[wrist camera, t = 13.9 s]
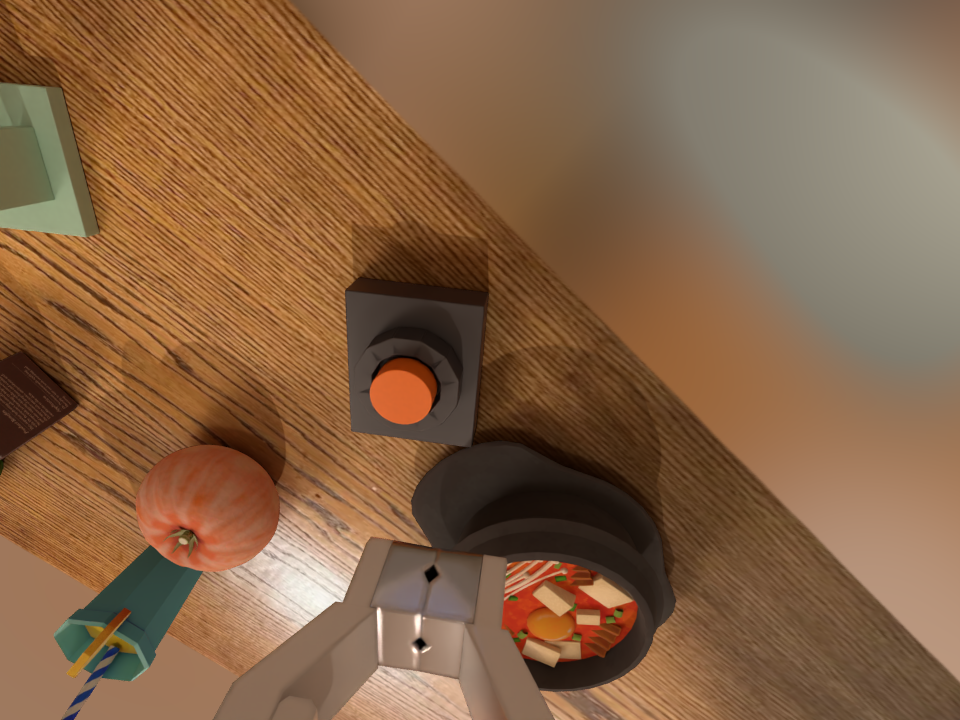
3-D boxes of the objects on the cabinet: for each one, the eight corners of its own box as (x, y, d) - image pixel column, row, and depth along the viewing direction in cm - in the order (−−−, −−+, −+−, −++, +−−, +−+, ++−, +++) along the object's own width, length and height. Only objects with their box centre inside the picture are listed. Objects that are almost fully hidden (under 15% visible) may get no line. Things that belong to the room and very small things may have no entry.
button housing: (358, 277, 35) (334, 299, 31) (489, 292, 34) (481, 317, 30) (362, 411, 40) (342, 446, 36) (476, 427, 39) (468, 463, 35)
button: (377, 353, 33) (368, 366, 31) (438, 361, 32) (433, 374, 31) (377, 406, 34) (369, 420, 33) (436, 413, 34) (430, 428, 33)
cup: (212, 608, 53) (102, 776, 40) (141, 583, 53) (5, 744, 40) (232, 520, 47) (108, 685, 34) (150, 490, 47) (-8, 645, 33)
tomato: (177, 408, 42) (101, 470, 35) (303, 447, 42) (254, 516, 35) (176, 502, 47) (111, 573, 40) (290, 536, 47) (244, 612, 40)
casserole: (369, 498, 44) (332, 579, 36) (537, 381, 37) (535, 451, 29) (551, 656, 50) (552, 751, 43) (723, 582, 43) (760, 681, 36)
